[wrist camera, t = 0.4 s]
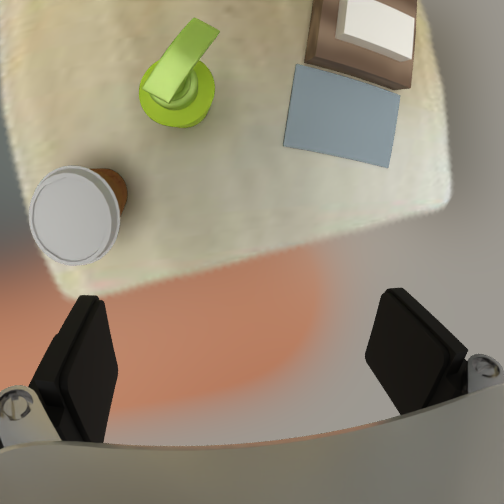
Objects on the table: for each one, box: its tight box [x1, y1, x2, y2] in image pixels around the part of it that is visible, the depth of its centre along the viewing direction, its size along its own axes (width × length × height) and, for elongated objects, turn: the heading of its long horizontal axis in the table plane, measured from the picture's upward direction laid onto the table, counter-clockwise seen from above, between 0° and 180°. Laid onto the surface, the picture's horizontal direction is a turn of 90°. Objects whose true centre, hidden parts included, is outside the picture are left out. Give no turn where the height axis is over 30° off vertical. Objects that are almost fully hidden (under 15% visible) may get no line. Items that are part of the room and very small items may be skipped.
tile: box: [335, 0, 414, 62], centre depth 28 cm, size 6×9×2 cm, turn 81°
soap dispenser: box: [139, 18, 220, 128], centre depth 25 cm, size 6×7×20 cm
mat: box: [283, 64, 400, 168], centre depth 37 cm, size 10×15×1 cm
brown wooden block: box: [304, 0, 417, 90], centre depth 31 cm, size 14×13×4 cm
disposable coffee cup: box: [29, 165, 127, 266], centre depth 31 cm, size 10×10×12 cm
